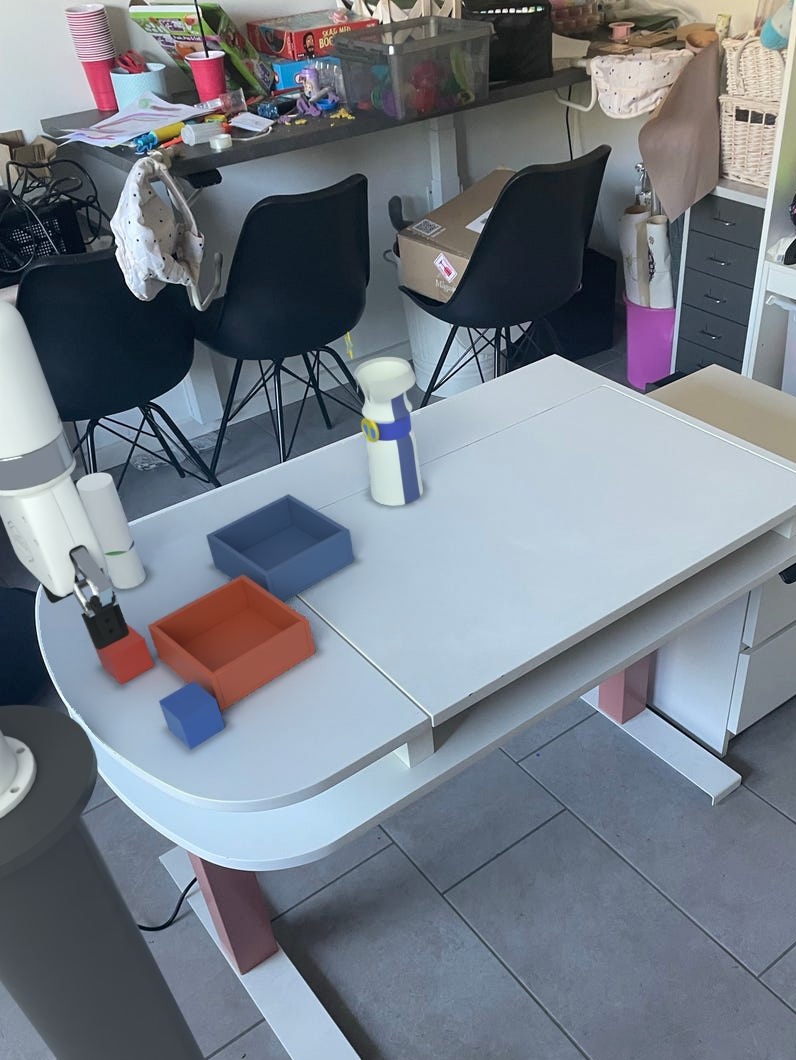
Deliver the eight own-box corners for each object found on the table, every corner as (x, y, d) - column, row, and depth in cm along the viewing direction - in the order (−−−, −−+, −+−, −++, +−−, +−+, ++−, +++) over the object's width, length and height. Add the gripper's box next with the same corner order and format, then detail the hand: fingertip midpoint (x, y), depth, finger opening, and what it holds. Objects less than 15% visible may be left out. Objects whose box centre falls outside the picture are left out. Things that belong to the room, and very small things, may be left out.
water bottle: (394, 514, 134) (373, 346, 118) (357, 493, 139) (332, 329, 123) (437, 491, 138) (422, 326, 122) (400, 471, 143) (381, 310, 127)
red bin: (221, 711, 105) (210, 678, 102) (159, 658, 113) (147, 625, 109) (316, 652, 112) (309, 619, 109) (251, 606, 119) (243, 573, 116)
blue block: (190, 749, 101) (180, 721, 98) (169, 729, 103) (158, 701, 100) (225, 727, 103) (216, 699, 100) (203, 708, 106) (193, 680, 103)
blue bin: (273, 608, 119) (265, 575, 116) (214, 566, 126) (205, 535, 123) (354, 561, 126) (349, 529, 123) (294, 524, 133) (288, 493, 130)
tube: (106, 581, 125) (69, 484, 115) (132, 565, 127) (98, 469, 118) (126, 592, 123) (90, 494, 113) (152, 576, 125) (119, 478, 116)
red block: (121, 685, 109) (110, 657, 106) (103, 668, 112) (91, 640, 109) (154, 666, 111) (144, 638, 109) (136, 649, 114) (125, 622, 111)
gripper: (-62, 439, 80) (12, 596, 91) (21, 515, 70) (93, 681, 81) (24, 408, 84) (85, 563, 95) (113, 476, 74) (170, 640, 85)
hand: (88, 617), depth 88 cm, fingers open, 9 cm apart
